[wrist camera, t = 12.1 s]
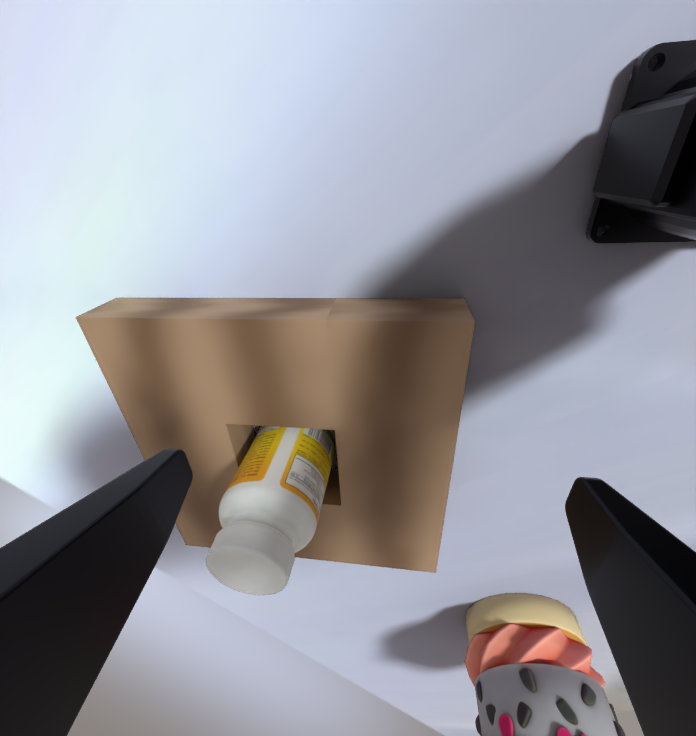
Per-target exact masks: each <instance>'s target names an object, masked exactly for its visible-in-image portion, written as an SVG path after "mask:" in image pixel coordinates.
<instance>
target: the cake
mask: <svg viewBox="0 0 696 736" xmlns="http://www.w3.org/2000/svg"><path fill="white" fill-rule="evenodd" d="M465 618H466V625H467V632H468V640H469V646H468V649H467V653H466V658H465V664H466V668H467V671H468V674H469V677H470V679H471V681H472V683H473V685H474V686H475V690H476V697H477V704H478V712H479V715H478V716H477V718H476V728H477V731H478V733H479V734H480V735H481V736H625V733H624V731H623V729H622V728H621V726H620V725H619V723H618V720H617V717H616V714H615V711H614V708H613V706H612V704H610V703H609V702H608V700H607V697H606V694H605V692H604V689H603V687H604V685H605V681H604V679H603V677H602V676H601V675H600V674H599V673H598V672H596V671H595V670H594V669H593V668H592V667H591V666H590V664H591V658H592V649H591V648H589V647H588V646H587V645H586V642H585V640H584V637H583V634H582V632H581V629H580V626H579V624H578V621H577V619H576V616H575V615H574V613H573V612H572V611H571V609H570V608H569V607H567V606H566V605H564V604H562V603H561V602H559V601H557V600H554V599H551V598H548V597H545V596H541V595H534V594H527V593H505V594H500V595H494V596H489V597H487V598H484V599H482V600H479V601H477V602H475V603H474V604H473V605H472V606H471V607H469V608H468V610H467V613H466V616H465Z"/></svg>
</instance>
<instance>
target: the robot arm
mask: <svg viewBox="0 0 696 736" xmlns="http://www.w3.org/2000/svg"><path fill="white" fill-rule="evenodd" d="M653 56H656V57H657V59H658V65H657V67H656V69H655V70H654V71H653V72H651V71H650V70H649V69H648V63H649V61H650V59H651V58H652V57H653ZM593 192H594V194H595V195H596V199H595V202H594V205H593V209H592V212H591V216H590V219H589V222H588V226H587V229H586V236H587V238H588V239H589V240H591V241H593V242H596V243H634V242H688V241H696V40H690V41H679V42H668V43H661V44H658V45H655V46H653V47H651V48H649V49H647V50H646V51H645V52H643V53H642V54H641V56H640V57H639V58H638V59H637V61H636V64H635V66H634V69H633V72H632V76H631V79H630V82H629V86H628V89H627V93H626V96H625V99H624V103H623V106H622V110H621V113H620V114H619V115H618V116H617V117H616V118H614V120H613V122H612V125H611V129H610V132H609V136H608V139H607V143H606V146H605V150H604V153H603V156H602V160H601V163H600V167H599V170H598V174H597V177H596V181H595V184H594V188H593ZM602 225H605V230H604V232H603V233H602V234H601V235H597V230H598V228H599V227H600V226H602ZM192 479H193V472H192V469H191V466H190V464H189V461H188V459H187V456H186V454H185V452H184V451H183V450H181V449H172V448H167V449H164V450H162V451H160V452H159V453H157V454H155V455H154V456H152V457H150V458H149V459H147V460H145V461H144V462H142V463H140V464H139V465H137V466H136V467H134V468H132V469H131V470H129V471H127V472H126V473H124V474H122V475H121V476H119V477H117V478H116V479H114V480H112V481H111V482H109V483H107V484H106V485H104V486H102V487H101V488H99V489H97V490H96V491H94V492H92V493H91V494H89V495H87V496H86V497H84V498H83V499H81V500H79V501H78V502H76V503H74V504H73V505H71V506H69V507H68V508H66V509H64V510H63V511H61V512H59V513H58V514H56V515H55V516H53V517H51V518H50V519H48V520H46V521H45V522H43V523H41V524H40V525H38V526H36V527H34V528H33V529H31V530H29V531H28V532H26V533H25V534H23V535H22V536H20V537H18V538H16V539H15V540H13V541H11V542H10V543H8V544H6V545H5V546H3V547H1V548H0V736H67V734H68V732H69V730H70V728H71V727H72V725H73V723H74V721H75V719H76V717H77V715H78V713H79V711H80V709H81V707H82V705H83V704H84V702H85V700H86V698H87V696H88V694H89V692H90V690H91V688H92V686H93V684H94V682H95V680H96V679H97V677H98V675H99V673H100V671H101V669H102V667H103V665H104V663H105V661H106V659H107V657H108V655H109V653H110V651H111V650H112V648H113V646H114V644H115V642H116V640H117V638H118V636H119V634H120V632H121V630H122V628H123V627H124V624H125V623H126V621H127V619H128V617H129V615H130V613H131V611H132V609H133V607H134V605H135V603H136V601H137V600H138V598H139V596H140V594H141V592H142V590H143V588H144V586H145V584H146V582H147V580H148V578H149V576H150V574H151V573H152V570H153V569H154V567H155V565H156V563H157V561H158V559H159V557H160V555H161V553H162V551H163V549H164V547H165V545H166V543H167V541H168V539H169V537H170V534H171V532H172V530H173V527H174V525H175V522H176V520H177V517H178V515H179V512H180V510H181V507H182V505H183V503H184V500H185V498H186V495H187V493H188V490H189V488H190V485H191V483H192ZM565 510H566V515H567V519H568V522H569V526H570V530H571V533H572V537H573V540H574V544H575V548H576V551H577V555H578V559H579V562H580V566H581V569H582V573H583V576H584V580H585V583H586V586H587V589H588V592H589V595H590V598H591V600H592V603H593V605H594V608H595V611H596V613H597V616H598V618H599V621H600V623H601V626H602V629H603V631H604V634H605V636H606V639H607V641H608V644H609V646H610V649H611V652H612V654H613V657H614V659H615V662H616V664H617V667H618V670H619V672H620V675H621V677H622V680H623V682H624V685H625V687H626V690H627V693H628V695H629V698H630V700H631V703H632V705H633V708H634V711H635V713H636V716H637V718H638V721H639V723H640V726H641V728H642V731H643V734H644V736H696V552H695V551H693V550H692V549H691V548H690V547H688V546H687V545H686V544H684V543H683V542H682V541H681V540H679V539H678V538H677V537H675V536H674V535H673V534H672V533H670V532H669V531H668V530H666V529H665V528H664V527H662V526H661V525H660V524H659V523H657V522H656V521H655V520H653V519H652V518H651V517H650V516H648V515H647V514H646V513H644V512H643V511H642V510H640V509H639V508H638V507H637V506H635V505H634V504H633V503H631V502H630V501H629V500H628V499H626V498H625V497H624V496H622V495H621V494H620V493H619V492H617V491H616V490H615V489H613V488H612V487H611V486H609V485H608V484H607V483H606V482H604V481H603V480H601V479H598V478H588V477H578V478H577V479H576V480H575V482H574V484H573V486H572V488H571V491H570V493H569V495H568V498H567V500H566V504H565Z"/></svg>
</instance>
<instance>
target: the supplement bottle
mask: <svg viewBox="0 0 696 736" xmlns="http://www.w3.org/2000/svg"><path fill="white" fill-rule="evenodd" d="M335 449H336V436H335V433H334V431H333V430H327V429H310V428H292V427H275V426H261V428H260V430H259V432H258V434H257V435H256V437H255V439H254V441H253V443H252V445H251V447H250V448H249V450H248V452H247V454H246V456H245V457H244V459H243V461H242V463H241V465H240V466H239V468H238V470H237V472H236V474H235V476H234V477H233V479H232V481H231V483H230V484H229V486H228V488H227V490H226V492H225V494H224V495H223V497H222V500H221V502H220V506H219V520H220V523H221V526H222V528H223V529H221V530H220V531H219V532H218V533H217V535H216V537H215V540H214V542H213V544H212V546H211V548H210V550H209V552H208V555H207V558H206V564H207V568H208V570H209V571H210V573H211V574H212V575H213V576H214V577H215V578H216V579H217V580H218V581H219V582H221V583H222V584H224V585H226V586H227V587H230V588H232V589H234V590H237V591H239V592H243V593H246V594H252V595H271V594H275V593H278V592H280V591H282V590H283V589H284V588H285V586H286V585H287V582H288V579H289V576H290V573H291V569H292V566H293V564H294V559H295V557H294V554H295V553H296V552H298V551H300V550H302V549H303V548H304V547H306V546H307V545H308V543H309V542H310V541H311V539H312V538H313V536H314V533H315V530H316V527H317V523H318V519H319V515H320V511H321V506H322V502H323V498H324V494H325V490H326V487H327V482H328V478H329V474H330V470H331V466H332V462H333V458H334V453H335Z"/></svg>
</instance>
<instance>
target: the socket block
mask: <svg viewBox="0 0 696 736" xmlns="http://www.w3.org/2000/svg"><path fill="white" fill-rule="evenodd" d="M76 319H77V321H78V323H79V325H80V327H81V329H82V331H83V333H84V335H85V337H86V340H87V342H88V344H89V346H90V348H91V350H92V352H93V354H94V356H95V358H96V360H97V362H98V364H99V366H100V368H101V371H102V373H103V375H104V377H105V379H106V381H107V383H108V385H109V387H110V389H111V391H112V393H113V395H114V397H115V399H116V401H117V404H118V406H119V408H120V410H121V412H122V414H123V416H124V418H125V420H126V422H127V424H128V426H129V428H130V430H131V432H132V434H133V437H134V439H135V441H136V443H137V445H138V447H139V449H140V451H141V453H142V455H143V457H144V459H145V460H147V459H149V458H150V457H152V456H154V455H155V454H157V453H159V452H160V451H162V450H164V449H167V448H172V449H181V450H183V451H184V452H185V454H186V456H187V459H188V461H189V464H190V466H191V469H192V472H193V479H192V483H191V485H190V488H189V490H188V493H187V495H186V498H185V500H184V503H183V505H182V507H181V510H180V512H179V515H178V517H177V520H176V522H175V523H176V525H177V527H178V529H179V531H180V534H181V536H182V538H183V540H184V542H185V544H186V545H192V546H201V547H209V548H211V546H212V544H213V542H214V540H215V537H216V535H217V533H218V532H219V531H220V530H221V529H223V528H222V526H221V523H220V520H219V506H220V502H221V500H222V497H223V495H224V494H225V492H226V490H227V488H228V486H229V484H230V483H231V481H232V479H233V477H234V476H235V474H236V472H237V470H238V468H239V466H240V465H241V463H242V461H243V459H244V457H245V456H246V454H247V452H248V450H249V448H250V447H251V445H252V443H253V441H254V439H255V437H256V436H255V432H254V428H253V425H257V426H275V427H292V428H310V429H327V430H335V436H336V448H337V460H338V470H330V474H329V478H328V482H327V487H326V490H325V494H324V498H323V502H322V506H321V511H320V515H319V519H318V523H317V527H316V530H315V533H314V536H313V538H312V539H311V541H310V542H309V543H308V545H307V546H306V547H304V548H303V549H302V550H300V551H298V552H296V553H295V554H294V557H299V558H308V559H317V560H326V561H335V562H344V563H353V564H362V565H371V566H380V567H389V568H397V569H406V570H415V571H424V572H433V573H436V568H437V562H438V556H439V549H440V543H441V536H442V530H443V524H444V517H445V511H446V504H447V498H448V492H449V485H450V479H451V472H452V466H453V460H454V453H455V447H456V441H457V434H458V428H459V421H460V415H461V409H462V402H463V396H464V389H465V383H466V377H467V370H468V364H469V358H470V351H471V345H472V338H473V332H474V326H475V321H474V318H473V316H472V314H471V312H470V310H469V307H468V305H467V303H466V301H465V299H371V298H115V299H113V300H111V301H109V302H107V303H105V304H103V305H101V306H98V307H96V308H94V309H92V310H90V311H88V312H86V313H84V314H82V315H79V316H77V317H76Z"/></svg>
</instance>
